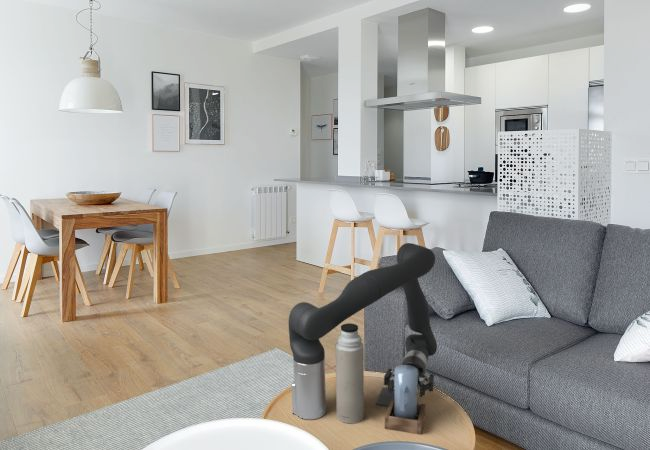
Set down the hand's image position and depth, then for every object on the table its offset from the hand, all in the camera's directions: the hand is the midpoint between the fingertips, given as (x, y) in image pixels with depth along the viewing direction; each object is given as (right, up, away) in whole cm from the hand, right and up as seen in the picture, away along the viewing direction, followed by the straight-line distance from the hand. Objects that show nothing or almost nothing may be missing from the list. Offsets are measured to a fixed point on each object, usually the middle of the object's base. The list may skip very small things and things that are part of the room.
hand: (405, 392), depth 146 cm
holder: (0, -9, +2) cm, 10 cm away
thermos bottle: (-15, -9, +6) cm, 19 cm away
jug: (0, -10, +1) cm, 10 cm away
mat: (-1, -7, +15) cm, 16 cm away
